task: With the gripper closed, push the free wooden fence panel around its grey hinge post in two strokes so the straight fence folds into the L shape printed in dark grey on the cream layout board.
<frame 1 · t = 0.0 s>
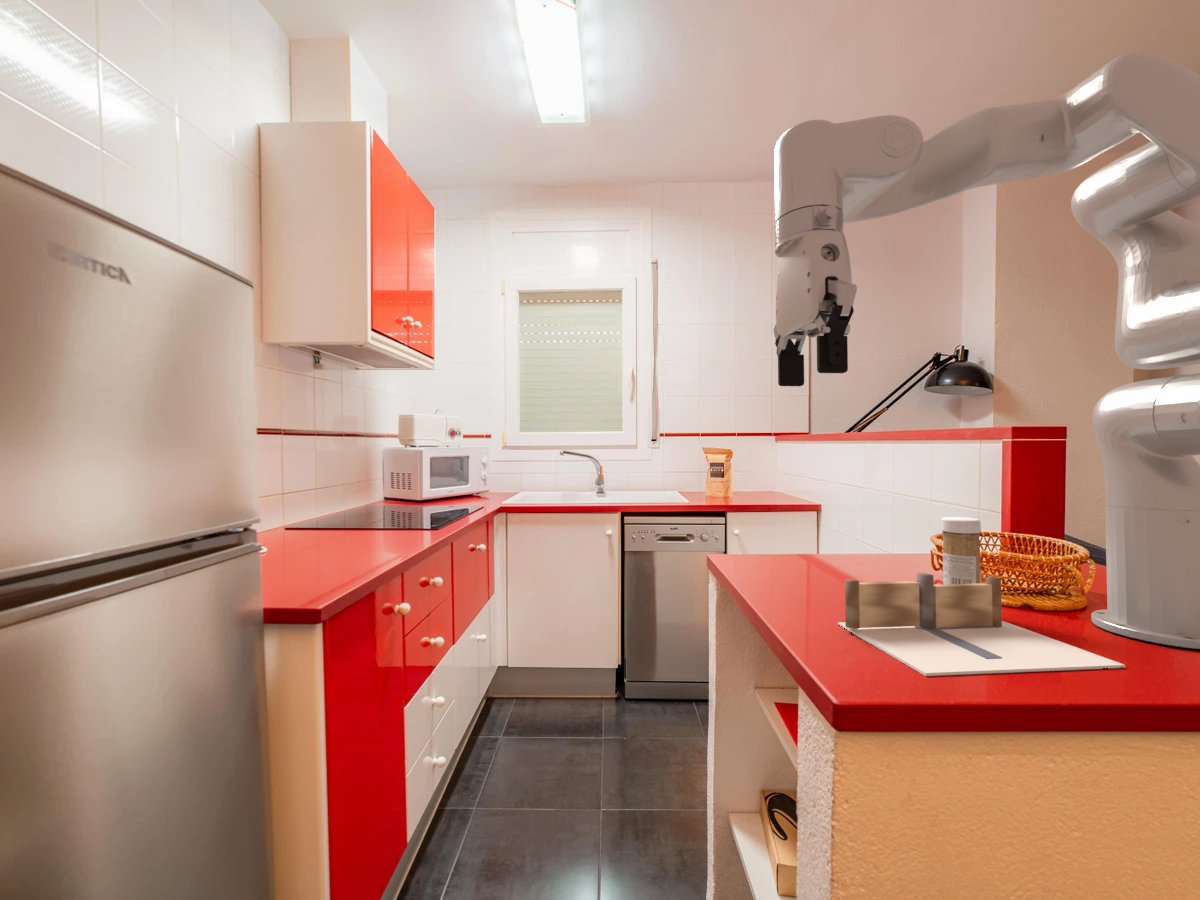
hand: (810, 379, 60), 31 cm above the table, tool pointing down, fingers open, 9 cm apart
sprinkles bottle: (962, 615, 72), on the table
fixed fence: (925, 629, 65), resting on layout board
fence panel: (881, 602, 64), point 4 cm above the table, hinge at 0.0°
layout board: (964, 643, 60), on the table
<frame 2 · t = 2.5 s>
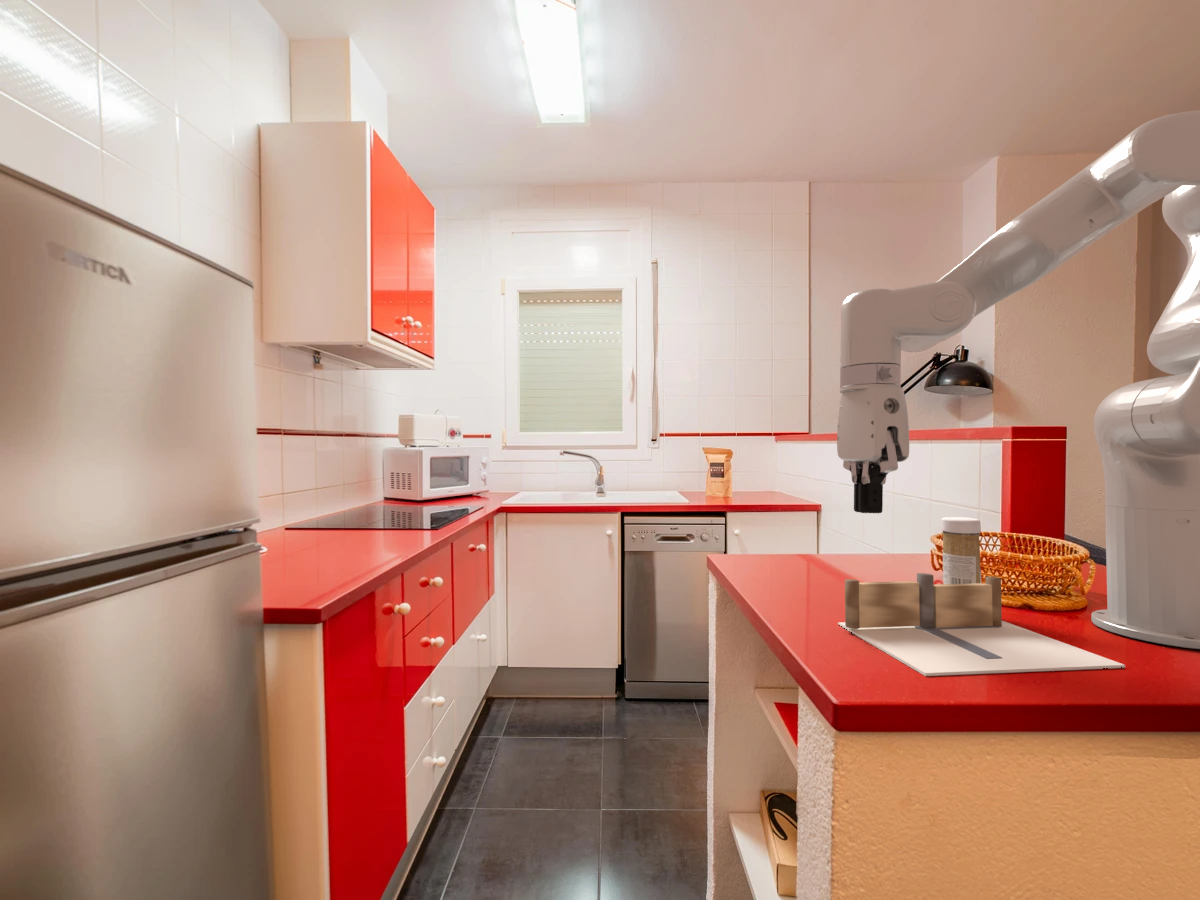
hand: (867, 512, 71), 14 cm above the table, tool pointing down, fingers closed
nothing on the table moved.
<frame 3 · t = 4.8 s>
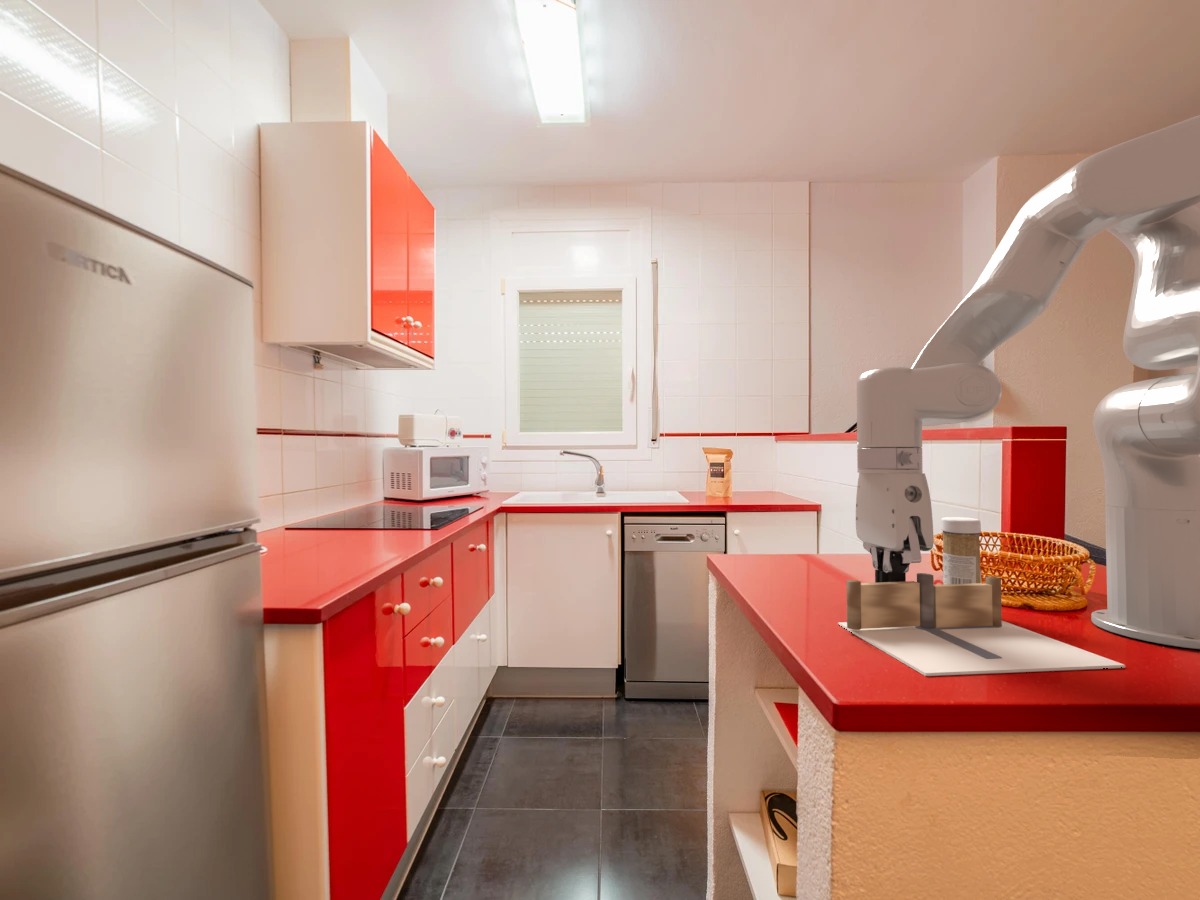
hand: (890, 600, 67), 3 cm above the table, tool pointing down, fingers closed
fence panel: (882, 603, 64), point 4 cm above the table, hinge at 2.2°, touching gripper
everything else where it was.
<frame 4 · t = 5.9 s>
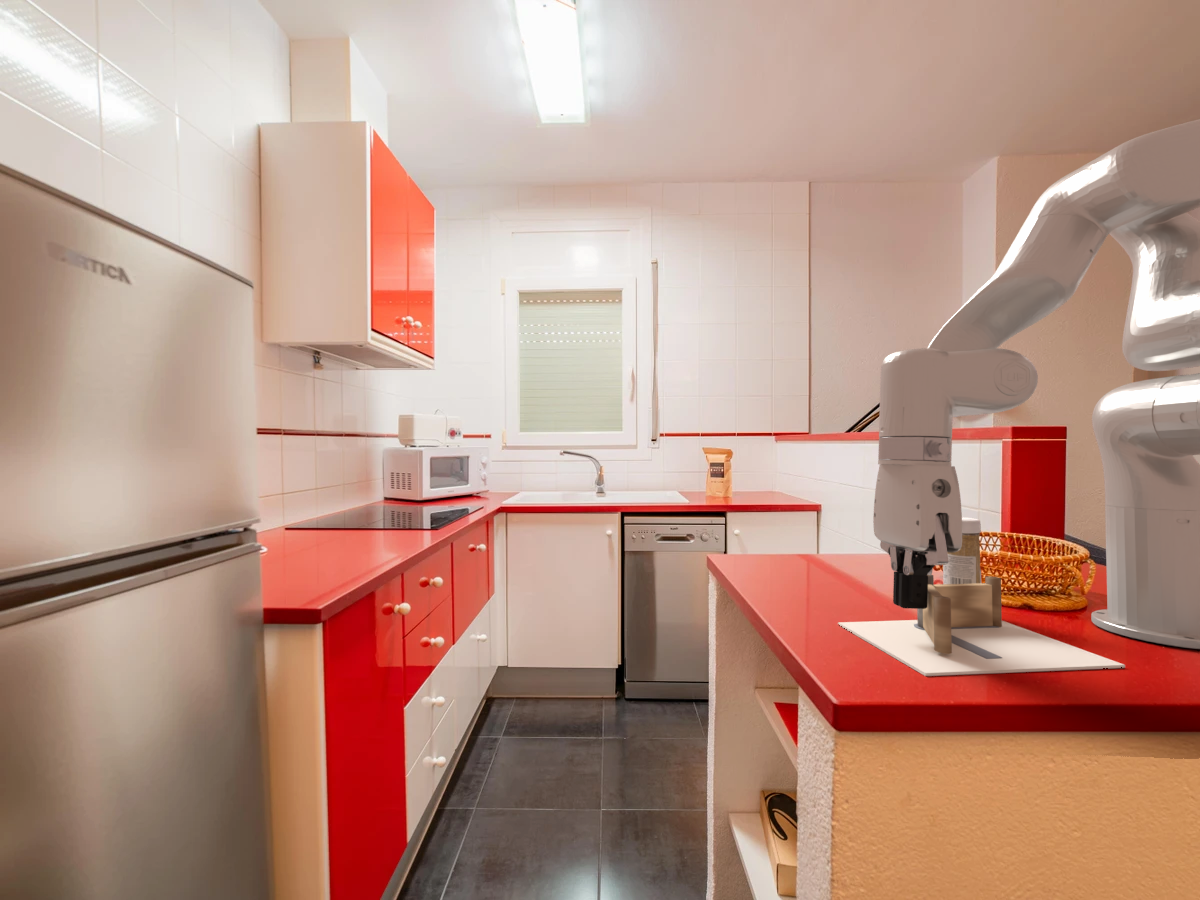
hand: (910, 606, 61), 4 cm above the table, tool pointing down, fingers closed
fence panel: (935, 614, 60), point 4 cm above the table, hinge at 62.0°, touching gripper
everything else where it was.
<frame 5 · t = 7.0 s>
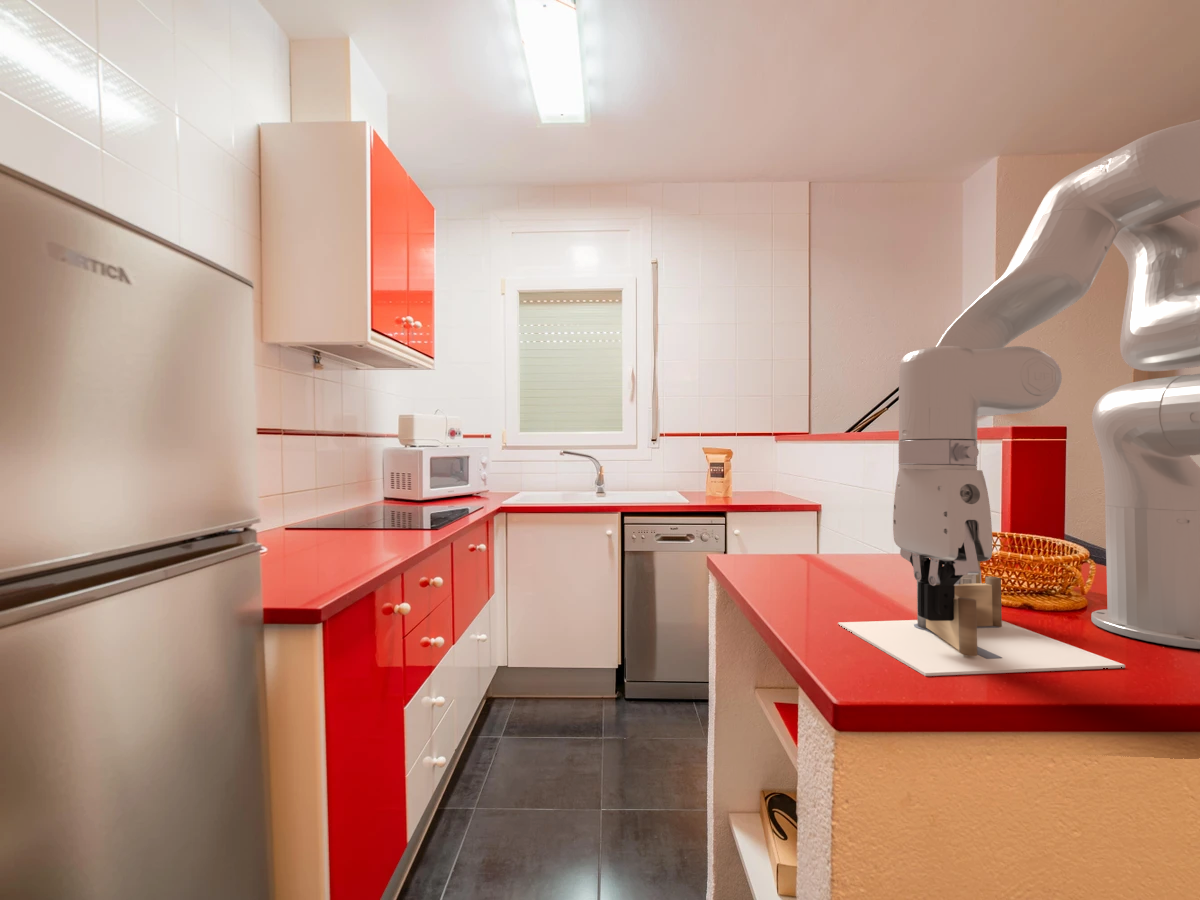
hand: (935, 618, 58), 4 cm above the table, tool pointing down, fingers closed
fence panel: (949, 615, 59), point 4 cm above the table, hinge at 75.9°, touching gripper
everything else where it was.
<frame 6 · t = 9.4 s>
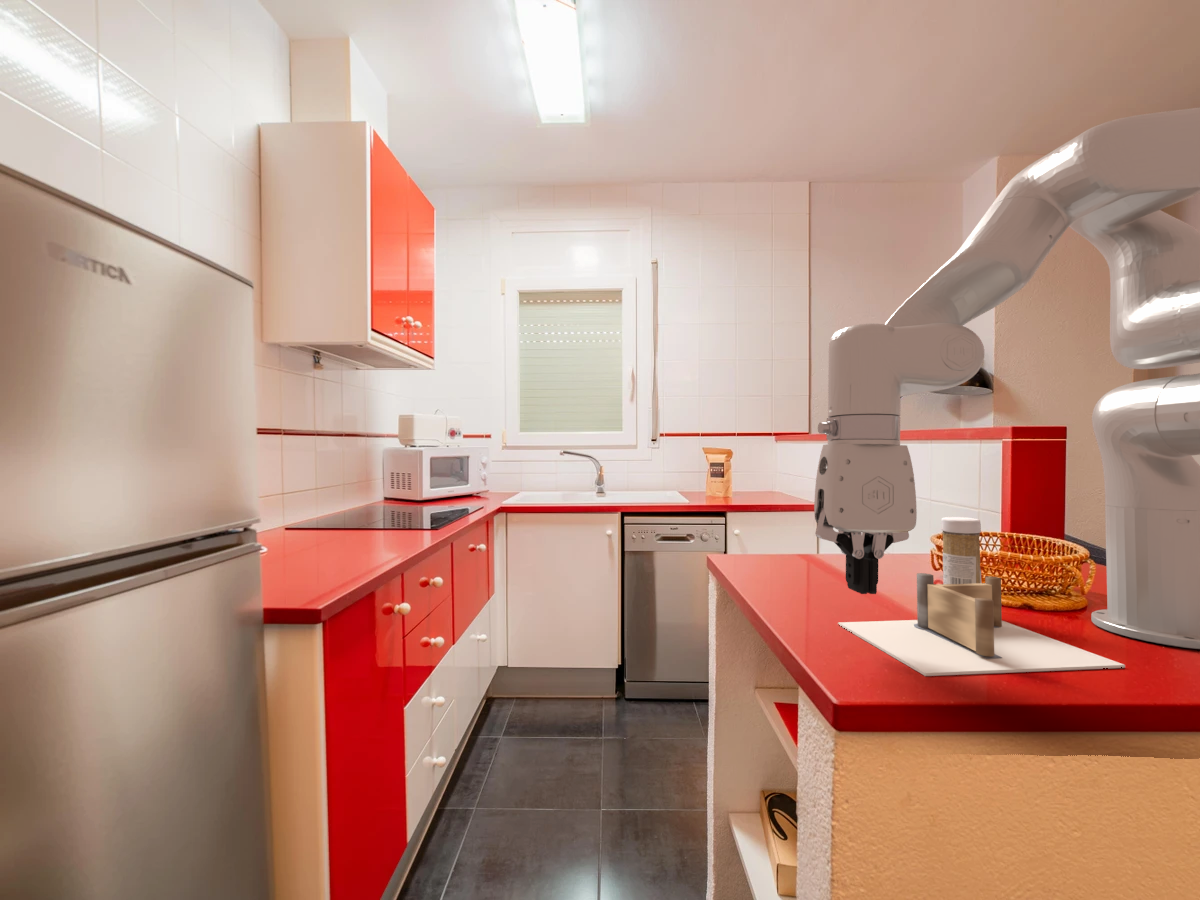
hand: (861, 590, 59), 7 cm above the table, tool pointing down, fingers closed
fence panel: (958, 615, 59), point 4 cm above the table, hinge at 86.0°
everything else where it was.
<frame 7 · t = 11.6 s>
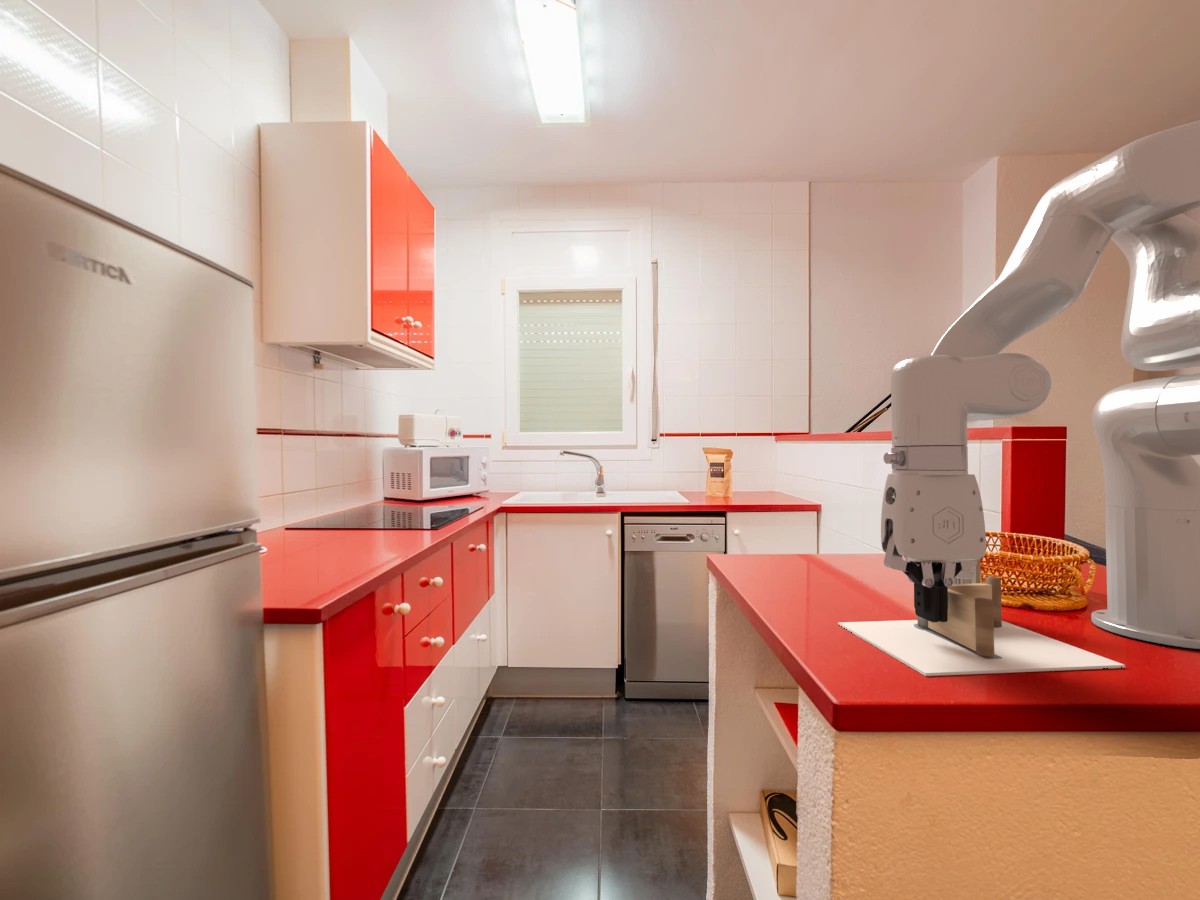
hand: (931, 618, 60), 3 cm above the table, tool pointing down, fingers closed
fence panel: (958, 615, 59), point 4 cm above the table, hinge at 86.0°, touching gripper
everything else where it was.
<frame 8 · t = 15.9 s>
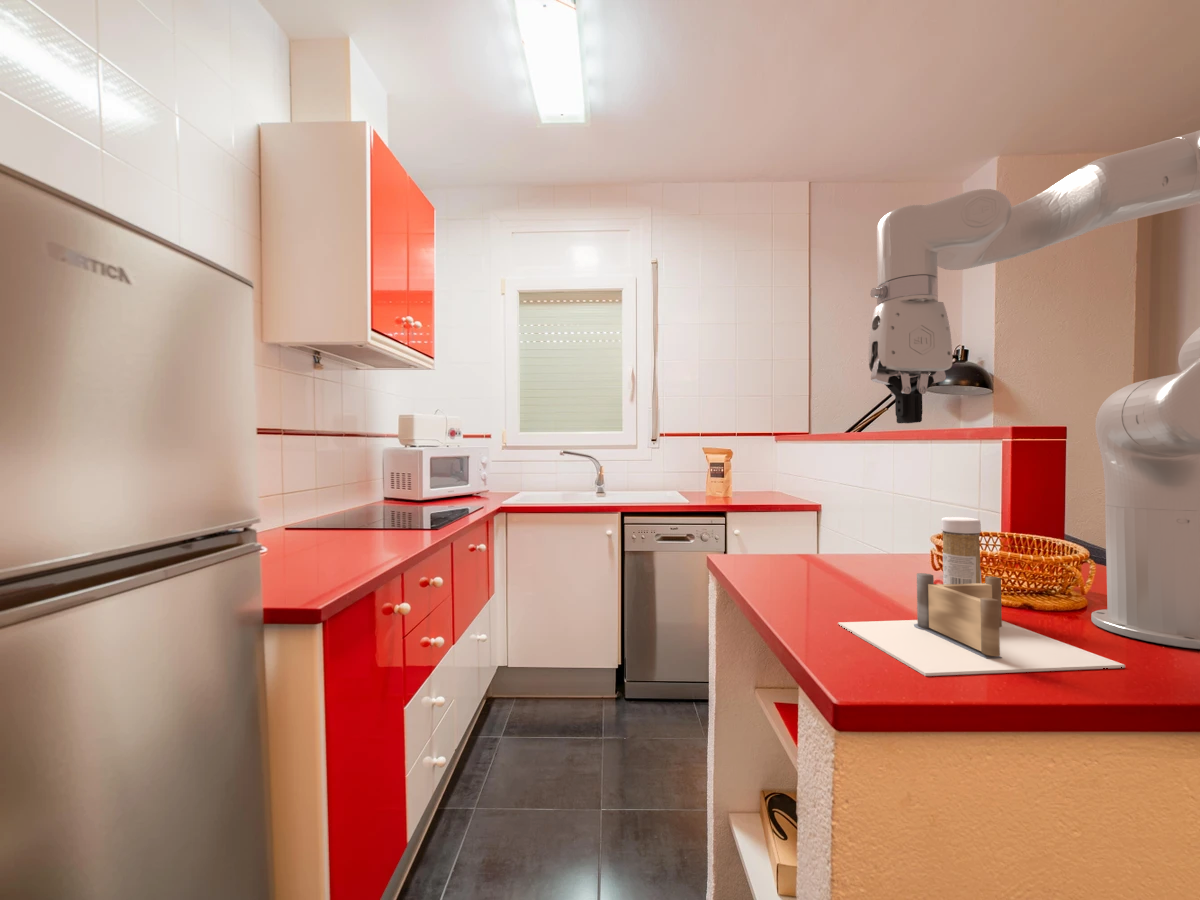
hand: (909, 422, 74), 27 cm above the table, tool pointing down, fingers closed
fence panel: (961, 615, 59), point 4 cm above the table, hinge at 89.7°
everything else where it was.
at the end: fence panel at +90° (first picture: +0°); sprinkles bottle moved 0.2 cm from its start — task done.
